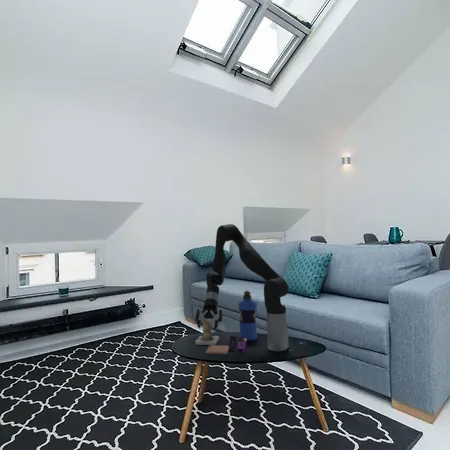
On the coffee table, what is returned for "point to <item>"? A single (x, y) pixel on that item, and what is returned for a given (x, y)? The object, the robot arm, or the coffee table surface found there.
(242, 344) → the purple toy figure
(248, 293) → the water bottle
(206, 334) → the birch peg
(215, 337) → the pocket block
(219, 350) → the terracotta tile
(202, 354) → the coffee table surface
